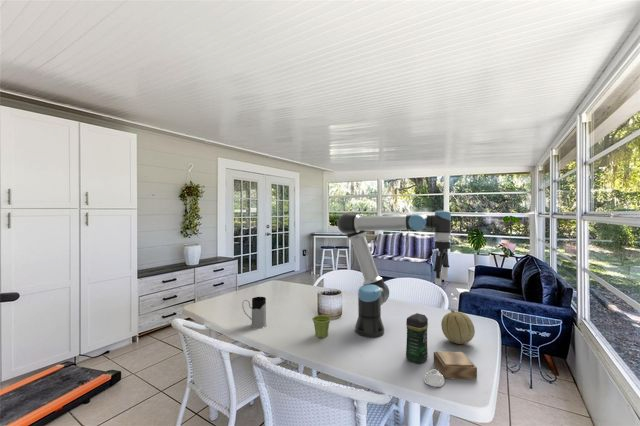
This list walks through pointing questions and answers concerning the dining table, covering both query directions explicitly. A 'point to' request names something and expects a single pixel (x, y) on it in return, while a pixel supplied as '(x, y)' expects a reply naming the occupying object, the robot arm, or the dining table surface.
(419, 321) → the coffee jar
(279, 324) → the dining table surface
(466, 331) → the cantaloupe
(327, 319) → the plant pot
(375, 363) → the dining table surface
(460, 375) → the walnut pedestal block
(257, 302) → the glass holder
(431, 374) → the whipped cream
